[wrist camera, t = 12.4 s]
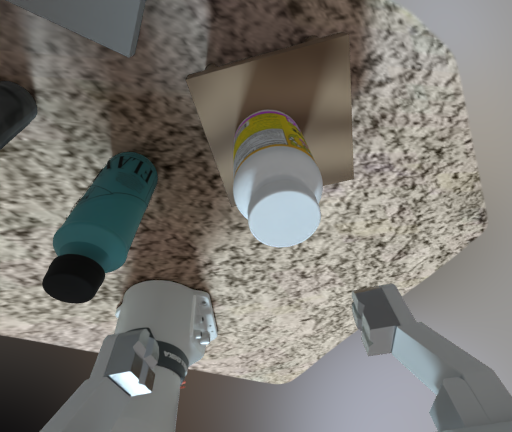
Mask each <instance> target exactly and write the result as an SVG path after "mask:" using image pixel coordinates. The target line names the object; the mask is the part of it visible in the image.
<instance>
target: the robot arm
mask: <svg viewBox="0 0 512 432" xmlns="http://www.w3.org/2000/svg"><path fill="white" fill-rule="evenodd" d="M352 299H353V301H354V302H353V303H352V312H353V317H354V320H355V323H356V326H357V328H358V329H360V330H361V331H362V341H363V344H364V347H365V349H366V352H367V354H368V356H373V355H380V354H387V353H392V355H393V356H394V357H396V358H397V359H398V360H399V361H400V362H401V363H402V364H403V365H404V366H405V367H406V368H407V369H409V370H410V371H411V372H412V373H413V374H414V375H415V376H416V377H417V378H418V379H419V380H421V381H422V382H423V383H424V384H425V385H426V386H427V387H428V388H429V389H430V390H432V391H433V392H434V393H435V394H436V395H437V396H436V399H435V401H434V403H433V405H432V407H431V410H430V412H429V413H430V415H431V417H432V419H433V422H434V424H435V426H436V428H437V430H438V432H512V396H511V395H510V394H509V392H508V391H507V389H506V388H505V386H504V385H503V384H502V382H501V381H500V379H499V378H498V376H497V375H496V374H495V372H494V371H493V370H492V369H491V368H489V367H488V366H486V365H485V364H483V363H482V362H480V361H479V360H477V359H476V358H474V357H473V356H471V355H470V354H468V353H467V352H465V351H464V350H462V349H461V348H459V347H458V346H456V345H455V344H453V343H452V342H450V341H449V340H447V339H446V338H444V337H443V336H441V335H440V334H438V333H437V332H435V331H434V330H432V329H431V328H429V327H428V326H426V325H425V324H423V323H422V322H416V320H415V319H414V317H413V315H412V313H411V312H410V310H409V308H408V306H407V305H406V303H405V301H404V299H403V298H402V296H401V294H400V293H399V291H398V289H397V287H396V286H395V285H394V284H386V285H381V286H374V287H369V288H364V289H359V290H354V291H352ZM115 315H116V317H117V318H118V321H117V325H116V329H115V333H114V334H113V335H107V337H106V338H105V339H104V341H103V344H102V346H101V349H100V352H99V354H98V357H97V360H96V363H95V365H94V368H93V371H92V374H91V376H90V379H88V380H85V382H84V383H83V384H82V385H81V386H80V387H79V388H78V389H77V390H76V391H75V393H74V394H73V395H72V396H71V397H70V398H69V400H68V401H67V402H66V403H65V404H64V405H63V406H62V407H61V408H60V409H59V411H58V412H57V413H56V414H55V415H54V416H53V417H52V419H51V420H50V421H49V422H48V423H47V424H46V425H45V426H44V427H43V429H42V430H41V431H40V432H175V425H176V417H177V408H178V400H179V392H180V389H181V388H185V386H182V387H180V386H181V385H182V384H184V383H186V381H184V378H185V376H186V374H187V369H188V367H189V366H190V365H192V364H193V363H195V362H197V361H199V360H200V359H201V358H202V357H203V356H204V353H205V347H206V345H207V344H210V341H212V340H213V339H215V338H216V337H217V334H218V331H217V327H216V322H215V318H214V313H213V309H212V304H211V300H210V295H209V294H208V293H207V292H204V291H199V290H193V289H190V288H188V287H186V286H184V285H181V284H179V283H175V282H171V281H165V280H151V281H145V282H141V283H138V284H136V285H134V286H132V287H130V288H129V289H128V290H127V291H126V293H125V294H124V297H123V303H122V305H120V306H119V307H118V308H117V310H116V314H115Z"/></svg>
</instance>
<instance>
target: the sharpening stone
mask: <svg viewBox="0 0 512 432" xmlns="http://www.w3.org/2000/svg"><path fill="white" fill-rule="evenodd" d="M6 1H8V2H10V3H12V4H15V5H17V6H19V7H21V8H23V9H25V10H27V11H30V12H32V13H34V14H36V15H38V16H40V17H43V18H45V19H47V20H49V21H51V22H53V23H55V24H58V25H60V26H62V27H64V28H66V29H68V30H71V31H73V32H75V33H77V34H79V35H81V36H83V37H86V38H88V39H90V40H92V41H94V42H96V43H99V44H101V45H103V46H105V47H107V48H109V49H111V50H114V51H116V52H118V53H120V54H122V55H124V56H126V57H131V56H132V55H134V54H135V50H136V46H137V41H138V36H139V31H140V26H141V21H142V17H143V12H144V7H145V2H146V0H6Z"/></svg>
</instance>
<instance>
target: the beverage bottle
mask: <svg viewBox="0 0 512 432" xmlns="http://www.w3.org/2000/svg"><path fill="white" fill-rule="evenodd" d="M104 166H105V165H104ZM158 180H159V179H158V177H157V171H156V168H155V167H154V165H153V164H152V162H151V161H150V160H149V159H147V158H146V157H144V156H143V155H140V154H138V153H134V152H123V153H120V154H117V155H115V156H114V157H113V158H111V159H110V160H109V161H108V162H107V165H106V166H105V167H104V169H103V170H100V173H99V174H98V175H97V177H96V178H95V179H94V181H92V182H93V184H92V185H91V184H90V185H91V186H90V185H89V187H90V188H89V189H88V190H87V192H86V193H85V192H84V193H85V195H84V196H83V197H82V198H81V199H79V200H80V201H79V203H78V201H77V203H78V204H77V203H76V204H77V205H76V206H75V208H72V209H74V210H72V209H71V210H72V211H71V214H70V215H69V216H68V218H66V219H67V220H66V221H65V223H64V224H63V225H62V227H61V228H59V229H58V230H57V232H56V233H55V235H54V238H53V247H54V250H55V252H56V254H57V255H58V257H56V258H55V259H54V260H53V262H52V263H51V265H50V266H49V269H48V271H47V273H46V275H45V277H44V279H43V283H42V285H43V288H44V290H45V291H46V292H47V293H48V294H49V295H50V296H52V297H53V298H55V299H57V300H60V301H63V302H67V303H84V302H87V301H89V300H91V299H92V298H93V297H94V296H95V294H96V292H97V291H98V289H99V287H100V286H101V285H102V283H103V281H104V279H105V273H108V272H112V271H114V270H117V269H118V268H120V267H121V266H122V265H123V264H124V263H125V261H126V259H127V254H128V251H129V249H130V246H131V244H132V242H133V239H134V237H135V234H136V232H137V229H138V227H139V224H140V222H141V219H142V217H143V214H144V212H145V211H146V208H147V207H148V204H149V201H151V199H152V197H151V196H152V194H153V193H154V189H155V190H156V188H157V187H156V185H157V181H158ZM92 182H91V183H92ZM85 191H86V190H85ZM84 193H83V194H84Z"/></svg>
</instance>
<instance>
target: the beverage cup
mask: <svg viewBox="0 0 512 432" xmlns="http://www.w3.org/2000/svg"><path fill="white" fill-rule="evenodd" d="M36 115H37V105H36V103H35V100H34V99H33V97H32V96H31V94H30V93H29V92H27V91H26V90H25V89H24V88H23V87H21V86H19V85H18V84H15V83H12V82H9V81H1V82H0V149H2V148H3V147H4V146H5V145H6V144H7V143H8V142H9V141H11V140H12V139H13V138H14V137H15V136H16V135H17V134H18V133H20V132H21V131H22V130H23V129H24V128H25V127H26V126H28V125H29V124H30V122H31V121H32V120H33V119H34V118H35V117H36Z"/></svg>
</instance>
